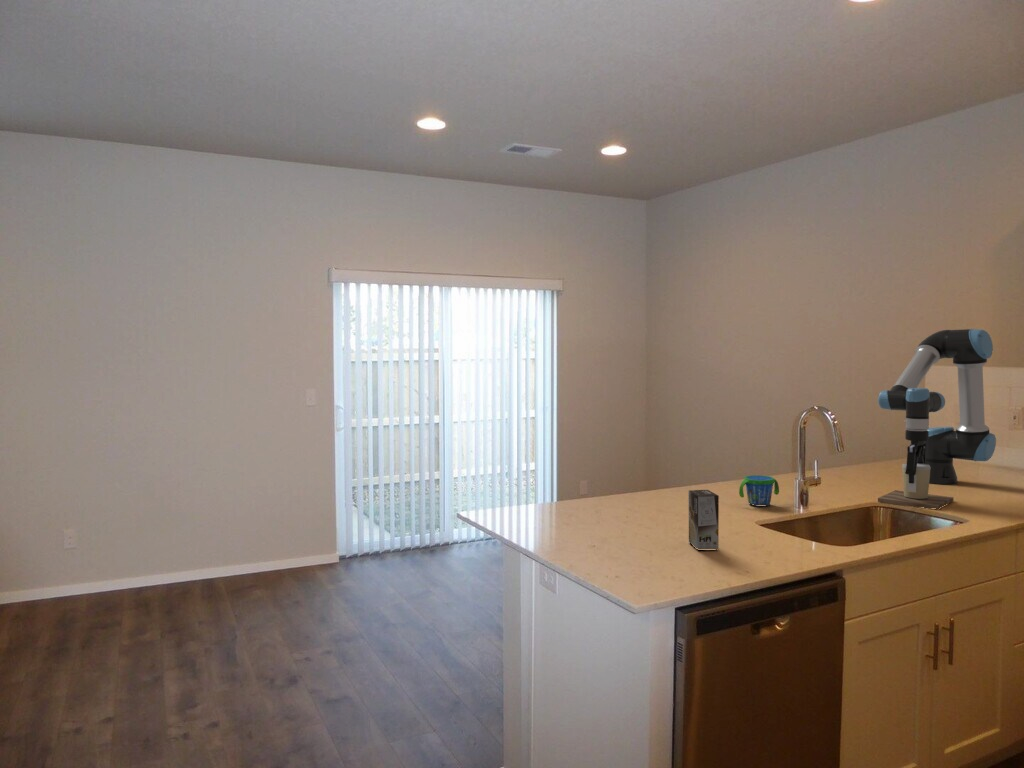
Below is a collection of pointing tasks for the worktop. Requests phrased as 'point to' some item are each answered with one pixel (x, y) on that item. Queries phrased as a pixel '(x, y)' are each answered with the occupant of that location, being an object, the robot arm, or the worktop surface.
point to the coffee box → (703, 519)
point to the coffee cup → (918, 481)
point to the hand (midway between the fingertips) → (915, 490)
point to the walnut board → (915, 500)
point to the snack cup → (759, 489)
